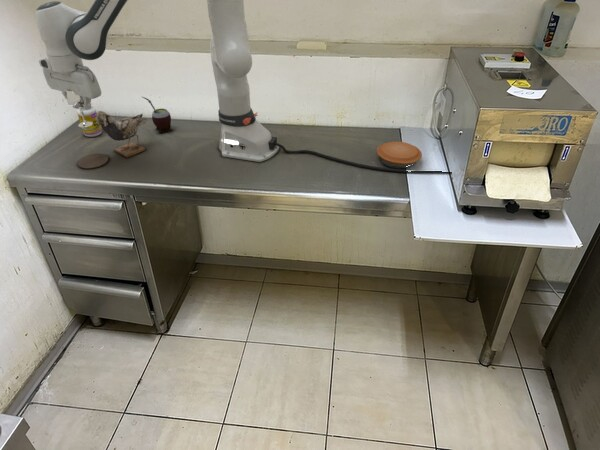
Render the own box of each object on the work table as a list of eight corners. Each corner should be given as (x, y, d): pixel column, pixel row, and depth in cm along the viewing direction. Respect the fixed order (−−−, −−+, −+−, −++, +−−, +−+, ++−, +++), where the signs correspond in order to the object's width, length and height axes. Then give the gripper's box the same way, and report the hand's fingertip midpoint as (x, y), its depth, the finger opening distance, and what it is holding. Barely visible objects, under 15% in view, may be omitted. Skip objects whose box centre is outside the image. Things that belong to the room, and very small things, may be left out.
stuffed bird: (99, 161, 153) (85, 114, 143) (134, 137, 168) (124, 93, 158) (123, 166, 151) (110, 119, 140) (156, 141, 166) (147, 97, 155)
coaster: (114, 159, 155) (114, 157, 154) (92, 171, 148) (91, 170, 147) (94, 152, 158) (94, 151, 158) (71, 165, 151) (71, 163, 151)
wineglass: (88, 129, 140) (77, 92, 133) (72, 127, 141) (60, 91, 134) (98, 121, 145) (88, 86, 138) (82, 120, 146) (71, 84, 139)
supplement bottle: (98, 137, 168) (88, 105, 160) (81, 137, 168) (70, 105, 160) (104, 130, 173) (95, 98, 166) (88, 130, 174) (78, 98, 166)
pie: (368, 153, 159) (370, 141, 156) (408, 148, 162) (410, 136, 159) (385, 174, 147) (387, 161, 144) (427, 169, 150) (430, 156, 147)
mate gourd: (176, 127, 176) (169, 90, 167) (166, 135, 170) (159, 98, 160) (159, 125, 177) (151, 89, 168) (149, 133, 171) (141, 96, 162)
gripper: (99, 64, 129) (111, 109, 138) (52, 54, 137) (66, 97, 145) (82, 70, 125) (95, 116, 133) (34, 60, 133) (50, 104, 141)
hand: (80, 106), depth 139 cm, fingers closed on wineglass, 5 cm apart
